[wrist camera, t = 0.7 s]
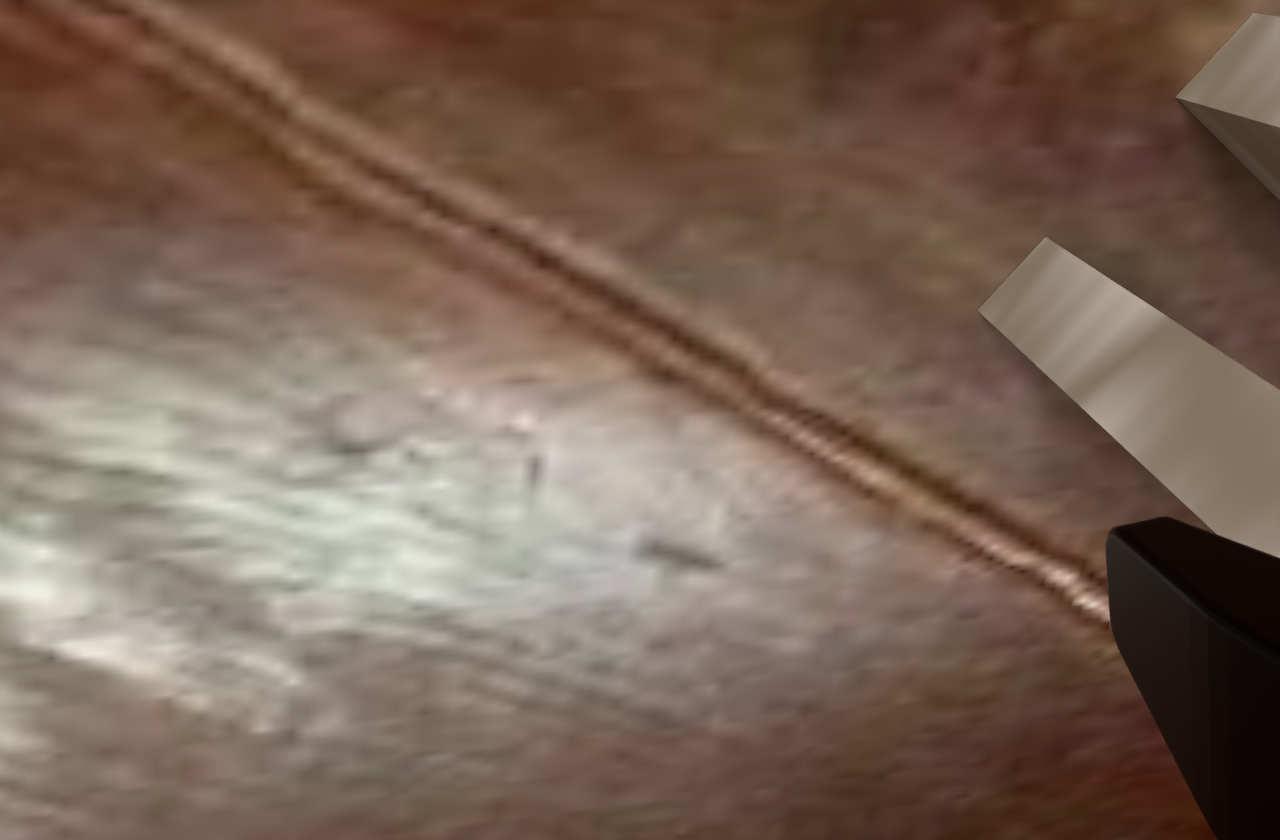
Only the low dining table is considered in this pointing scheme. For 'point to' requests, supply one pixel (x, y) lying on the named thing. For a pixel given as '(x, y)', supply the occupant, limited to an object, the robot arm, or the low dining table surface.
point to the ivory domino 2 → (1244, 97)
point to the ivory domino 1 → (1152, 390)
